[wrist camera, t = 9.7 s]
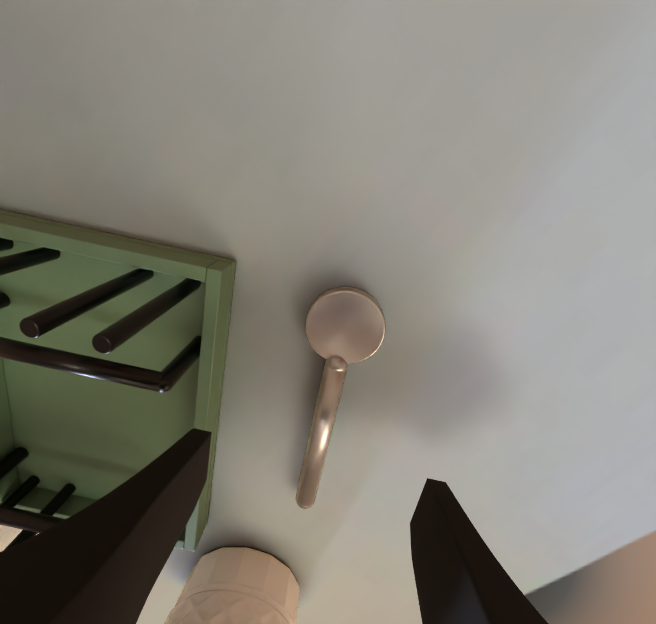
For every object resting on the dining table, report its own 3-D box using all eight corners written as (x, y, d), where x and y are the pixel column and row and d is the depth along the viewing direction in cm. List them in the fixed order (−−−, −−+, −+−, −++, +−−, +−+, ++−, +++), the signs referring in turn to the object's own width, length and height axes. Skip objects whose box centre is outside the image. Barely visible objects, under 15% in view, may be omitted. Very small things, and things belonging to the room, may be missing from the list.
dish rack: (193, 517, 21) (130, 648, 15) (20, 480, 21) (-107, 595, 15) (214, 280, 16) (132, 341, 10) (-14, 230, 16) (-223, 264, 10)
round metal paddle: (336, 504, 20) (335, 520, 19) (274, 490, 20) (269, 505, 19) (393, 295, 16) (395, 303, 15) (314, 278, 16) (311, 285, 15)
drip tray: (207, 522, 21) (194, 552, 20) (19, 480, 21) (-9, 507, 20) (236, 260, 16) (221, 270, 14) (-18, 205, 16) (-63, 209, 14)
